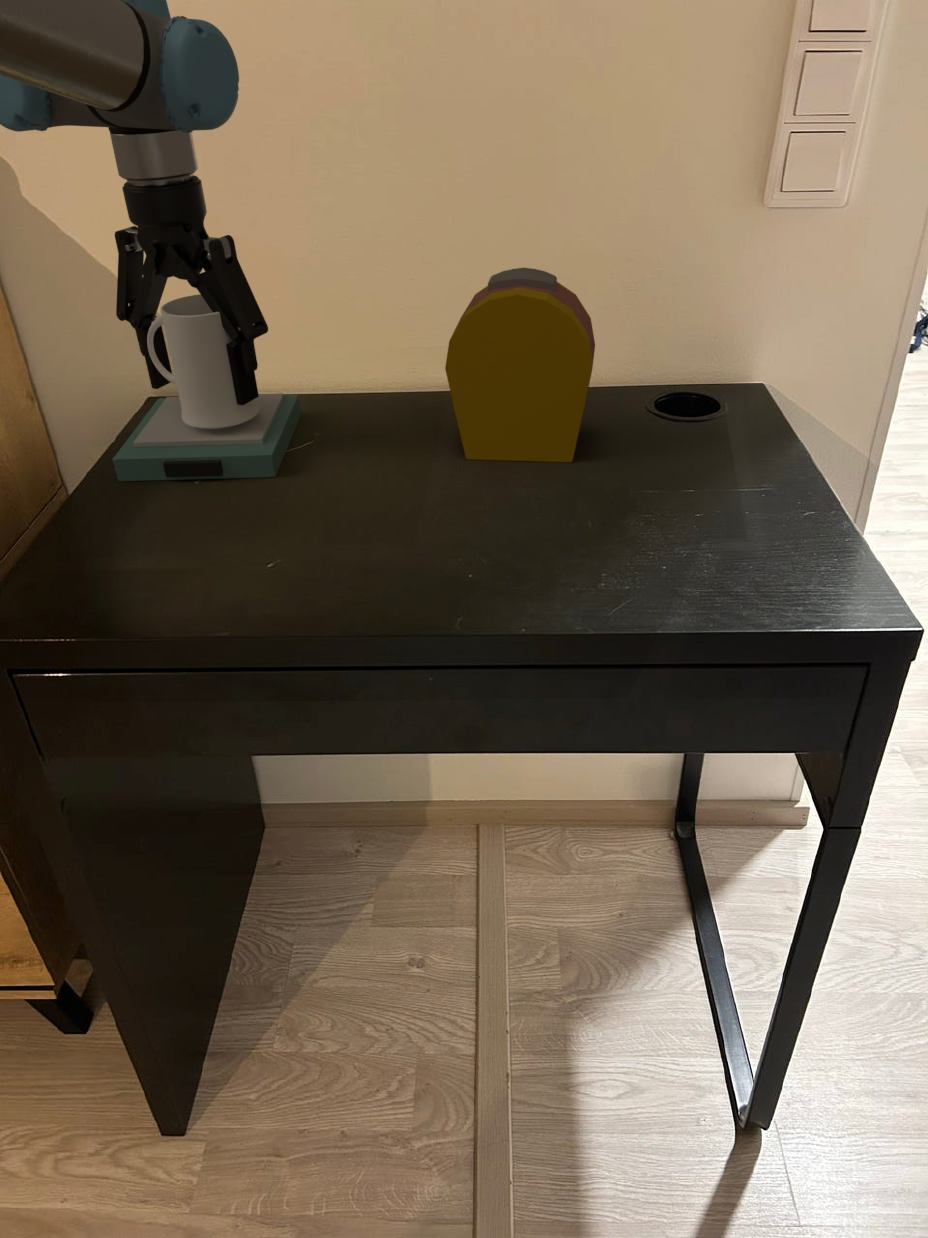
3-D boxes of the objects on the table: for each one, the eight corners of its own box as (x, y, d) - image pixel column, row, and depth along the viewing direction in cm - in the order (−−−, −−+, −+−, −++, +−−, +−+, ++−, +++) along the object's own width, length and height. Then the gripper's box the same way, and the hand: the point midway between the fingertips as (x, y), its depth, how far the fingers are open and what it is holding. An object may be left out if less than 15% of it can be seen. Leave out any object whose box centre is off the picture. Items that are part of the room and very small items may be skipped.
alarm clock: (592, 431, 108) (598, 262, 97) (588, 462, 101) (595, 285, 91) (461, 428, 110) (454, 263, 99) (450, 458, 103) (440, 285, 93)
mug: (142, 419, 105) (115, 310, 98) (190, 392, 111) (168, 287, 105) (230, 433, 101) (208, 320, 94) (275, 404, 107) (257, 295, 100)
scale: (116, 484, 101) (108, 456, 100) (163, 418, 116) (157, 393, 114) (274, 479, 101) (269, 451, 99) (301, 414, 115) (298, 388, 113)
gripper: (282, 176, 90) (312, 395, 103) (100, 165, 100) (148, 366, 113) (231, 192, 85) (269, 421, 97) (44, 178, 95) (100, 388, 107)
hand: (204, 392), depth 105 cm, fingers closed on mug, 11 cm apart
